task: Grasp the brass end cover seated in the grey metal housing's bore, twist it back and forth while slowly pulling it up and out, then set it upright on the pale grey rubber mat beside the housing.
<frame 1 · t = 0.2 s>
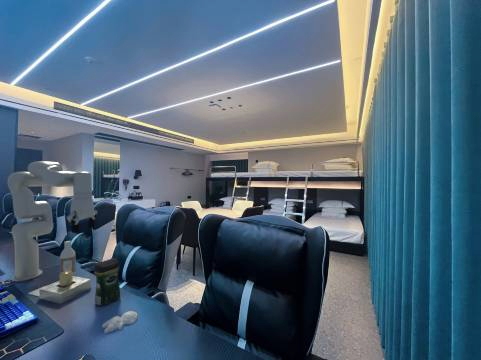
hand: (83, 230, 107), 30 cm above the table, tool pointing down, fingers open, 9 cm apart
end cover: (66, 283, 104), in the housing
bath foam: (68, 276, 121), on the table
astronaut figurine: (120, 323, 83), on the table
coffee jar: (107, 300, 97), on the table
mat: (43, 291, 106), on the table
housing: (66, 293, 104), on the table
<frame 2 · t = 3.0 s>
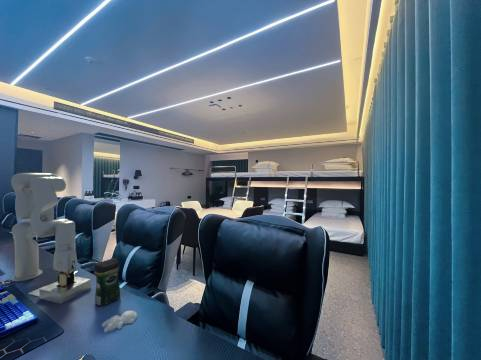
hand: (66, 283, 104), 5 cm above the table, tool pointing down, fingers closed on end cover, 5 cm apart
end cover: (66, 283, 104), in the housing, touching gripper
everything else where it was.
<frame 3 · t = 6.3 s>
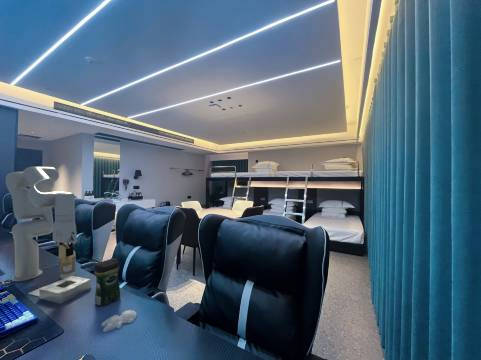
hand: (65, 254, 104), 19 cm above the table, tool pointing down, fingers closed on end cover, 5 cm apart
end cover: (65, 254, 104), point 19 cm above the table, touching gripper
everything else where it was.
when the fingers open (7 cm above the table, at t = 10.1 s): end cover drops 2 cm, resting on mat.
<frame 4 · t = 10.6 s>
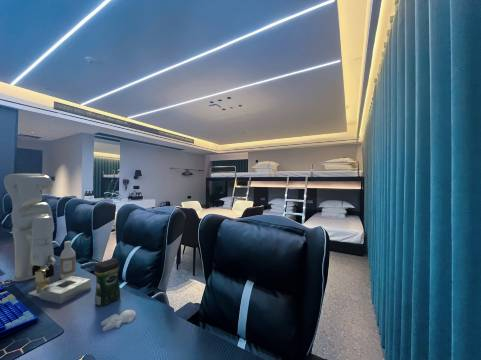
hand: (43, 275, 105), 8 cm above the table, tool pointing down, fingers open, 9 cm apart
end cover: (42, 280, 105), on the mat
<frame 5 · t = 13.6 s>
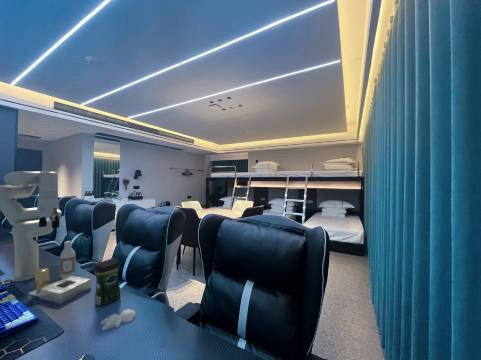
hand: (49, 227, 112), 30 cm above the table, tool pointing down, fingers open, 9 cm apart
at the end: end cover 0.1 cm off-centre on the mat, point 5.5 cm above the mat's base; end cover tilted 1°; end cover touching mat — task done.
